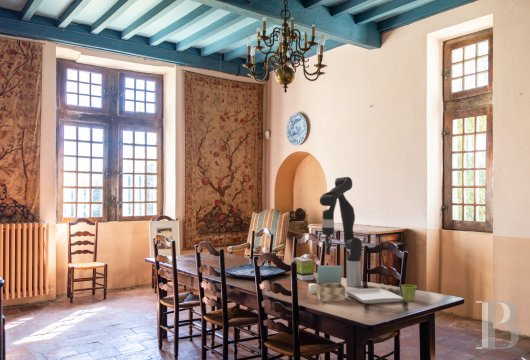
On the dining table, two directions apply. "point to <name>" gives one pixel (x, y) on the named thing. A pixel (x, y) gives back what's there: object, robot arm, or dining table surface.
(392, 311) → the dining table surface
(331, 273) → the box lid
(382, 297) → the square plate
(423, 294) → the dining table surface
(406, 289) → the plant pot
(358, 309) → the dining table surface
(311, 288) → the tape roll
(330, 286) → the woven basket
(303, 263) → the tea box
